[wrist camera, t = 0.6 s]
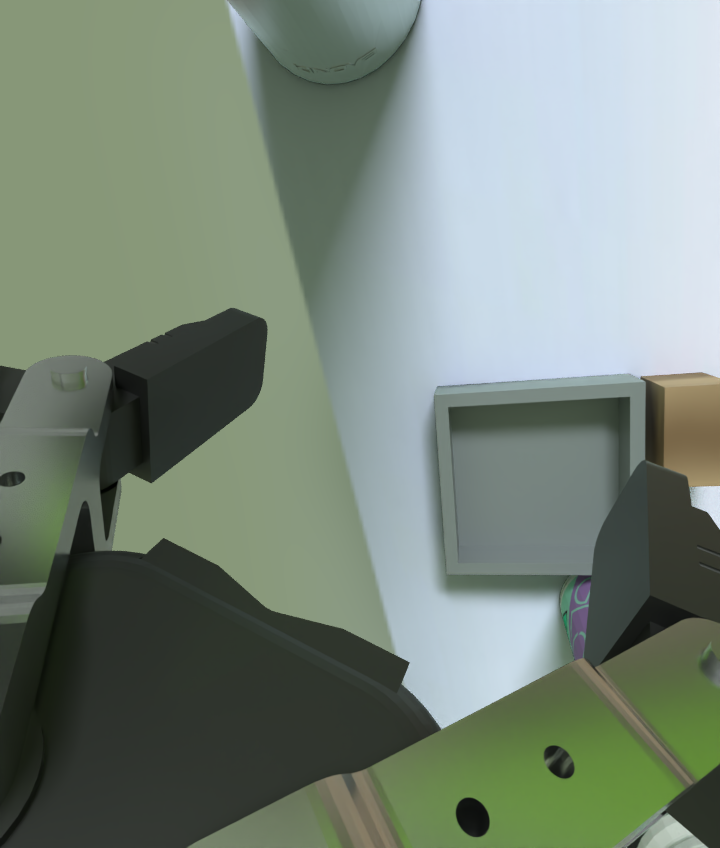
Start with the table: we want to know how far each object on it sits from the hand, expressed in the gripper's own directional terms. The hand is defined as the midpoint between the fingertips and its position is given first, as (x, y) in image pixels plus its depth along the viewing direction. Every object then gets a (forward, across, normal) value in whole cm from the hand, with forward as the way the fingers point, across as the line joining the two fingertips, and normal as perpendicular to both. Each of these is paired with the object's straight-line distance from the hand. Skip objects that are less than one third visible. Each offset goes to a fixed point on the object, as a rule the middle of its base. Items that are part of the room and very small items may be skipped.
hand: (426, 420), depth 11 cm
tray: (+19, -4, +12) cm, 23 cm away
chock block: (+21, -9, +8) cm, 25 cm away
